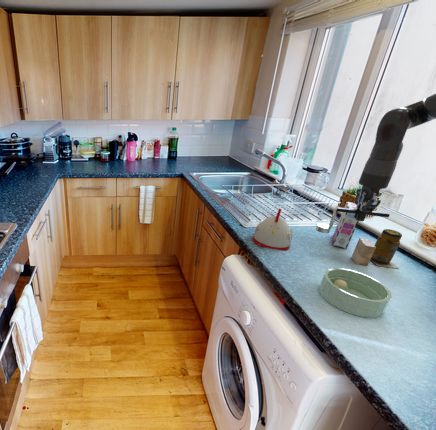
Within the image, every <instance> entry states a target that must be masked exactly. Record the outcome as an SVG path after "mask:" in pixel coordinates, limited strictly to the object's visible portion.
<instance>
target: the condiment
mask: <svg viewBox="0 0 436 430" xmlns="http://www.w3.org/2000/svg"><path fill="white" fill-rule="evenodd" d="M402 237H403V234H402V232H400V231H397V230H395V229H389V228H385V229H382V231H381V233H380V235H378V237H377V239H376V241H375V243H374V244H373V245H374V246H375V247H376V249H375V251H374V253H373V255H372V257H371V259H370V262H372V263H373V264H375V265H376V266H377V267H383V268H389V269H399V267H398V265H396V264H395V263H394V262H392V260H393V258H394V257H395V256H394V255H395V254H396V252H397V250H398V248H399V246H400V244H401V239H402Z"/></svg>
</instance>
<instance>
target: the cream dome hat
mask: <svg viewBox="0 0 436 430" xmlns="http://www.w3.org/2000/svg"><path fill="white" fill-rule="evenodd" d="M281 212H282V208H278V210H277V213H276V215H271V216H269V217H266V218H265V219H264V220H262V222H261V221H260V222H258V224H257V225H256V227H255V229H254V232H253V235H252V241H253V243H254V244H255V245H257V246H259V247H260V248H266V249H271V250H276V251H282V252H285V251H287V250H289V249H290V247H291V244H292V239H293V230H292V229H291V228H290V226H289V223H288V222H287V221H286V219H285V218H283V217H282V216H281Z"/></svg>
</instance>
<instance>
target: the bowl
mask: <svg viewBox="0 0 436 430" xmlns="http://www.w3.org/2000/svg"><path fill="white" fill-rule="evenodd" d="M335 280H343V281H345V282H346V283H347V289H346V290H345V291H344V290H342V289H340V288H339V287H337V286H336V285H334V284H333V282H334V281H335ZM318 291H319V294H320V296H322V298H323V299H324V300H325V301H326V302H328V304H331V305H332V306H333V307H335V308H337V309H339V310H340V311H343V312H345V313H348V314H351V315H353V316H357V317H361V318H369V319H370V318H371V319H373V318H378V317H381V316H382V315H383V314H384V312H385V310H386V308H387V307H388V305H389V303H390V301H391V299H392V292H391V291H390V290H389V288H388V287H387V286H386V285H385V284H384V283H382V282H381V281H379V280H377V279H376V278H374V277H372V276H370V275H368V274H365V273H363V272H359V271H357V270H354V269H349V268H343V267H332V268H328V269H326V270H325V271H324V273H323V277H322V279H321V282H320V284H319V287H318Z"/></svg>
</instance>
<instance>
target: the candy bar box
mask: <svg viewBox="0 0 436 430" xmlns="http://www.w3.org/2000/svg"><path fill="white" fill-rule="evenodd" d="M356 206H357V205H356V204H355V202H350V201H346V203H345V205H344V206H343V208H349V209H357V207H356ZM354 215H355V214H354V213H346V212H341V215H340V217H339V220H338V223H337V225H336V226H335V229H334V232H333V235H332V246H334V247H336V248H340V249H344V250H347V249H348V247H349V244H350V243H351V240H352V237H353V236H354V233H355V231H356V228H357V226H358V225H359V222H360V221H357V220H356V219H355V218H354Z"/></svg>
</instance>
